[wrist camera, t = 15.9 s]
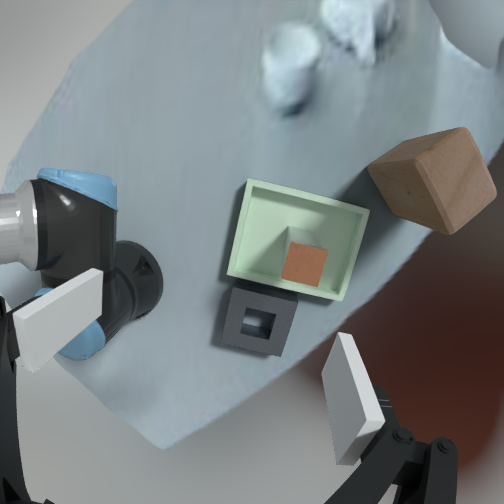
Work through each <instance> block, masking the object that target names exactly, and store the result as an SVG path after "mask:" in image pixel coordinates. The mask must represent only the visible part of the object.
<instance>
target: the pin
mask: <svg viewBox="0 0 504 504" xmlns="http://www.w3.org/2000/svg"><path fill="white" fill-rule="evenodd" d="M327 254H328V250H327V249H324V248H322V247H321V245H320V244H319V242H318V240H317V239H316V237H315V236H314V234H313V232H312V231H308V230H304V229H300V228H296V227H292V226H288V229H287V233H286V237H285V241H284V245H283V270H282V274H281V279H284V280H288V281H292V282H297V283H301V284H305V285H310V286H314V287H318V285H319V281H320V278H321V275H322V271H323V268H324V265H325V261H326V258H327Z"/></svg>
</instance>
